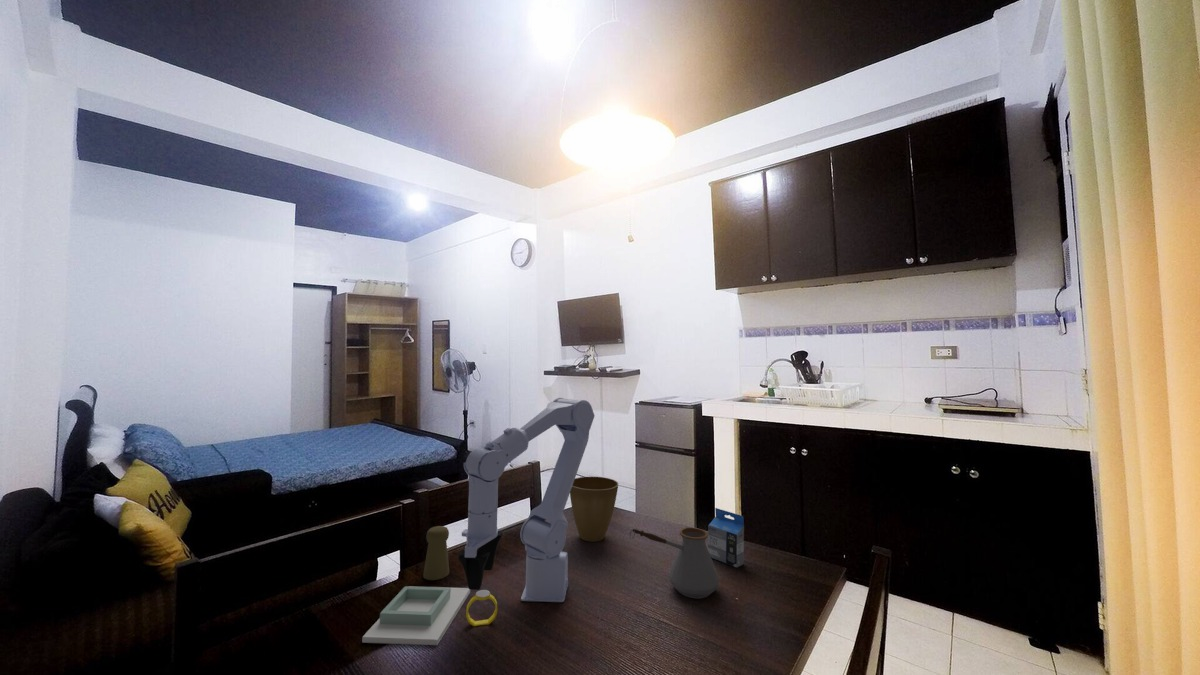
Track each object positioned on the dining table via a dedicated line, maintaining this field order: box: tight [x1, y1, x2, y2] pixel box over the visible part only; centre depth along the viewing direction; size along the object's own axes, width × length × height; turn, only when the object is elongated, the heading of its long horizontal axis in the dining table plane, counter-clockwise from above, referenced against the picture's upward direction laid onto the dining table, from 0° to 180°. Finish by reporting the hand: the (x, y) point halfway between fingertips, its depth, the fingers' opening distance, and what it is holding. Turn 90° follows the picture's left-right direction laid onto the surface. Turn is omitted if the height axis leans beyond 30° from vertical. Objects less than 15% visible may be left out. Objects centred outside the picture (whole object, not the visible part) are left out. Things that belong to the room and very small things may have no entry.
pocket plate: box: [361, 585, 471, 646], centre depth 88 cm, size 14×18×3 cm
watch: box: [465, 589, 498, 627], centre depth 86 cm, size 6×3×6 cm, turn 105°
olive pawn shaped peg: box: [422, 525, 450, 581], centre depth 106 cm, size 6×6×11 cm
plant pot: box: [569, 476, 619, 543], centre depth 129 cm, size 15×15×16 cm
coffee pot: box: [629, 526, 720, 600], centre depth 99 cm, size 21×12×15 cm, turn 105°
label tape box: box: [707, 507, 745, 568], centre depth 115 cm, size 9×4×12 cm, turn 42°
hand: (481, 578), depth 87 cm, fingers open, 7 cm apart
